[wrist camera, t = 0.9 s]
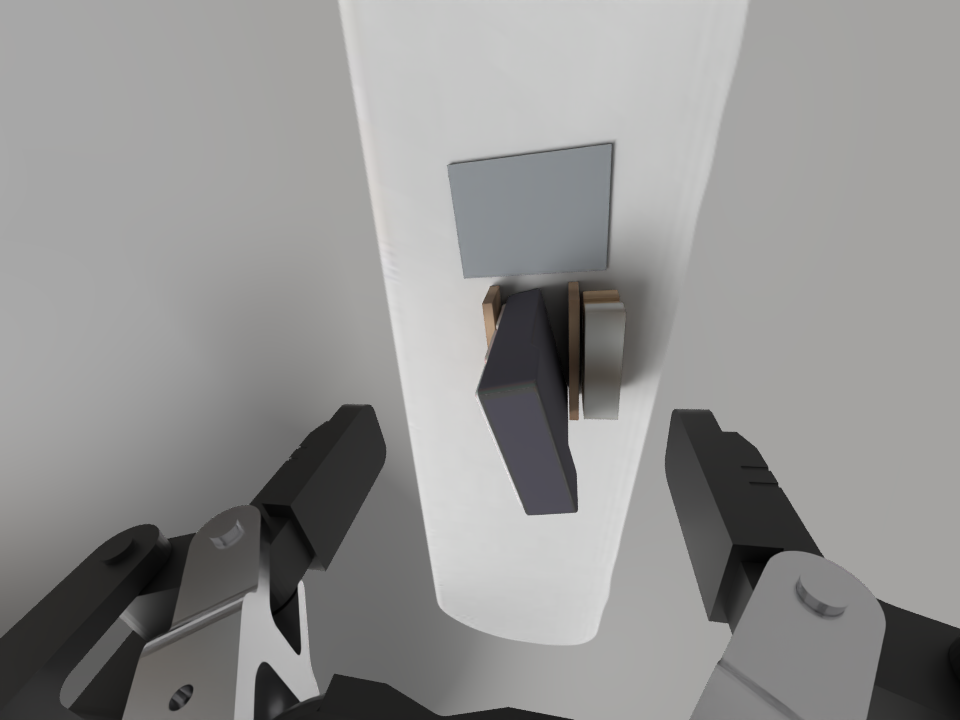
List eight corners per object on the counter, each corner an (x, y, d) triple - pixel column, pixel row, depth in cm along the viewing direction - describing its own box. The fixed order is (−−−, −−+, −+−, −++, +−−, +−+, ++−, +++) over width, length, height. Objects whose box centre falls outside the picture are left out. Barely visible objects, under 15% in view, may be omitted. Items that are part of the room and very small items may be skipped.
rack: (490, 286, 34) (482, 303, 31) (578, 281, 32) (579, 299, 29) (502, 393, 40) (496, 418, 37) (577, 394, 38) (578, 420, 35)
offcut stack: (582, 287, 33) (585, 313, 28) (617, 285, 32) (625, 312, 27) (581, 388, 38) (583, 424, 33) (611, 388, 37) (617, 425, 33)
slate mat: (448, 164, 29) (447, 165, 29) (611, 143, 27) (611, 143, 26) (465, 276, 34) (464, 278, 34) (605, 268, 31) (606, 269, 31)
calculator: (500, 296, 34) (462, 394, 22) (547, 284, 33) (536, 381, 20) (531, 393, 39) (516, 519, 27) (573, 386, 38) (578, 516, 25)
